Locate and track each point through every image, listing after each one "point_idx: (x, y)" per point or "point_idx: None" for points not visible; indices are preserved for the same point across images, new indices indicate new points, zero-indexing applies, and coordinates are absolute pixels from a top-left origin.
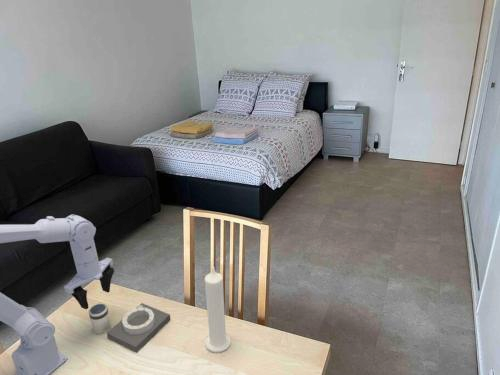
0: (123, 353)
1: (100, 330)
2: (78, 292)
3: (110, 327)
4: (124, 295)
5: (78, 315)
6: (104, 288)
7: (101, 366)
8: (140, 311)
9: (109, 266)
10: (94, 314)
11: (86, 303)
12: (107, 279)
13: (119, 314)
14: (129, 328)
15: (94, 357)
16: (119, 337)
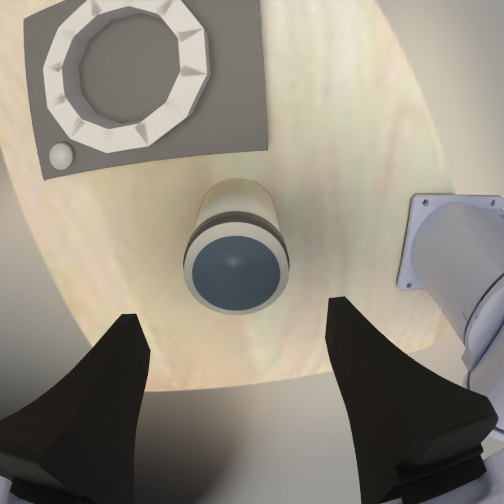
0: (290, 15)
1: (264, 196)
2: (468, 445)
3: (213, 187)
4: (75, 289)
5: (242, 336)
6: (138, 356)
7: (384, 50)
8: (77, 108)
9: (16, 488)
10: (278, 256)
11: (359, 327)
12: (85, 408)
13: (139, 221)
14: (202, 35)
15: (368, 109)
16: (254, 68)
